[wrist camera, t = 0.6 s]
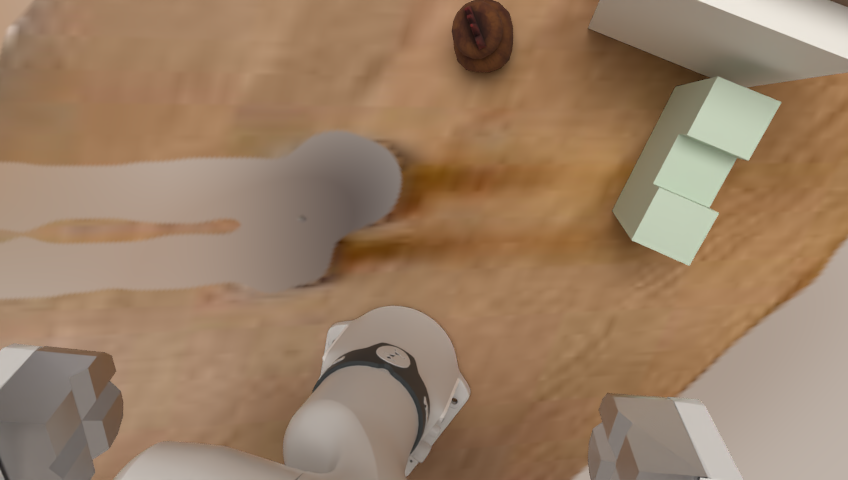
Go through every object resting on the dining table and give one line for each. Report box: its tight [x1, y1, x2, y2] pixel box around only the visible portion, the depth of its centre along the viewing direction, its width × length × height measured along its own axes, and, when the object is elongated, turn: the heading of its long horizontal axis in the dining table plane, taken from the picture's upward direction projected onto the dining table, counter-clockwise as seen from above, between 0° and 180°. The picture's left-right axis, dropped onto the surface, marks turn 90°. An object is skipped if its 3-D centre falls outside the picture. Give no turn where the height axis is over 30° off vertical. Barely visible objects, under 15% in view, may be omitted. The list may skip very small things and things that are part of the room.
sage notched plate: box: [612, 76, 781, 266], centre depth 55 cm, size 14×5×16 cm, turn 157°
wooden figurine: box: [452, 0, 513, 72], centre depth 56 cm, size 7×6×15 cm
